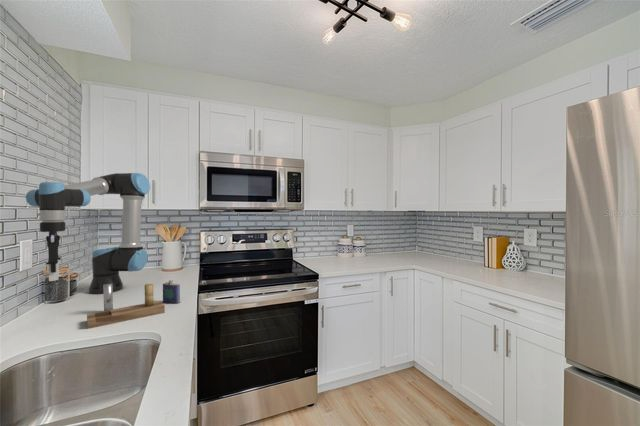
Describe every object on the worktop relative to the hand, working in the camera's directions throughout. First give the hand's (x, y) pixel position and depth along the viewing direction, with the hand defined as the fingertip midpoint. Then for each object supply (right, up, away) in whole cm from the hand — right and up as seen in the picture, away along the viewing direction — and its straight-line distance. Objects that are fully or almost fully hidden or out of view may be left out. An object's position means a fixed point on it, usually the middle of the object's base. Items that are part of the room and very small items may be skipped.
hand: (54, 278), depth 117 cm
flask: (+35, -17, +23) cm, 45 cm away
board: (+26, -17, +5) cm, 31 cm away
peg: (+14, -17, +11) cm, 24 cm away
